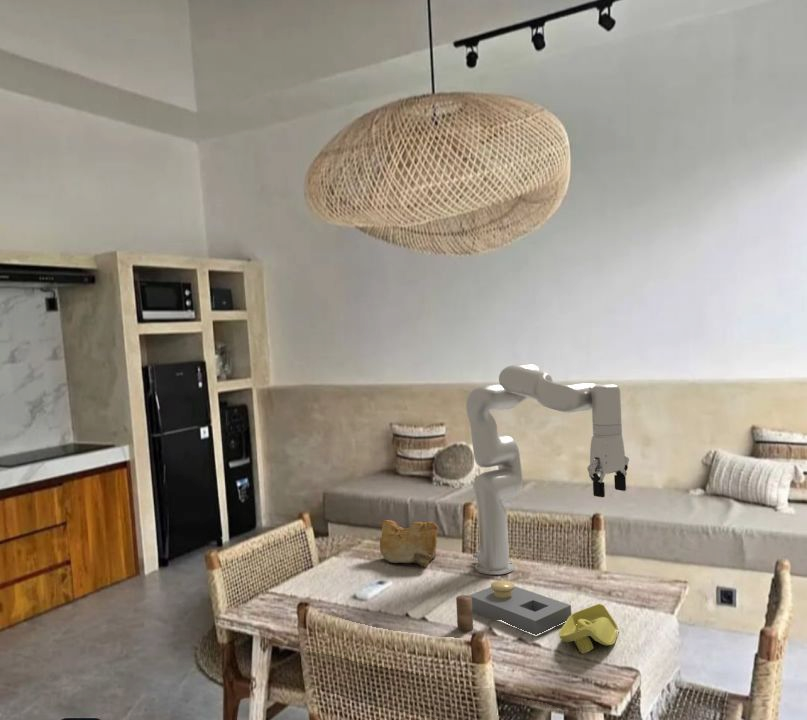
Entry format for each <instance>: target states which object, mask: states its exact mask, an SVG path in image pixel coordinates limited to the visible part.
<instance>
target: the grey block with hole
mask: <svg viewBox="0 0 807 720" xmlns="http://www.w3.org/2000/svg"><path fill="white" fill-rule="evenodd" d="M467 595H468V594H467ZM468 596H471V597H472V613H476V614H479V615H481V616H484V617H486V618H489V619H491V620H493V621H496V620H502V621H504V622H506V623H508V624H510V625H512V626H515V627H517V628H519V629H522V630H524V631H527V632H530V633H532V634H535V635H537V634H539V633H542V632H544V631H546V630H548V629H550V628H552V627H554V626H557V625H559V624H561V623H563V622H565V621H567V619H568V618H569V616H570V615H572V605H571V604H568V603H566V602H563V601H559V600H557V599H554V598H551V597H547V596H546V595H542V594H539V593H536V592H533V591H530V590H528V589H524V588H521V587H519V586H515V583H514V582H512V581H510V580H497V581H495V580H494V581H493V582H491V584H490V587H487V588H484V589H482V590H479V591H477V592H474V593H472V594H469V595H468Z"/></svg>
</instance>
